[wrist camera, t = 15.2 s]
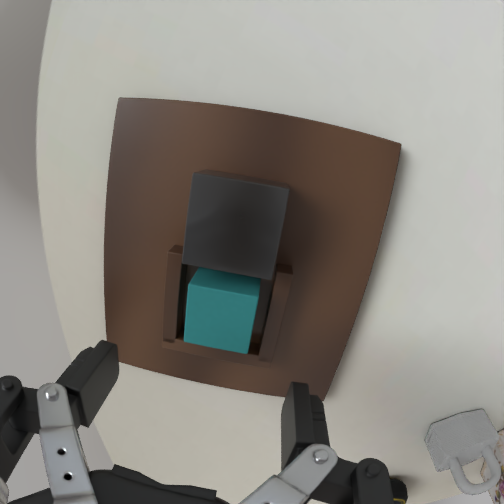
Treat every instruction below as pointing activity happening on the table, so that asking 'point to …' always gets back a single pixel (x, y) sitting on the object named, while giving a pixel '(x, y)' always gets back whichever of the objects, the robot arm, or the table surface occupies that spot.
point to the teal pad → (221, 309)
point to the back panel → (303, 253)
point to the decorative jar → (500, 493)
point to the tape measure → (399, 491)
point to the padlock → (464, 447)
